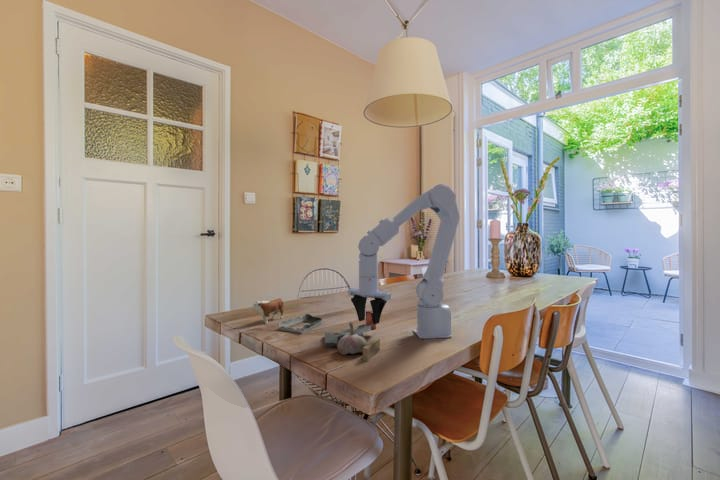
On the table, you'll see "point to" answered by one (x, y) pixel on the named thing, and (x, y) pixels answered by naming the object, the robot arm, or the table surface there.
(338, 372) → the table surface
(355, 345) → the garlic bulb
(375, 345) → the bar
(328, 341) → the base
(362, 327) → the lever
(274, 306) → the bull figurine
